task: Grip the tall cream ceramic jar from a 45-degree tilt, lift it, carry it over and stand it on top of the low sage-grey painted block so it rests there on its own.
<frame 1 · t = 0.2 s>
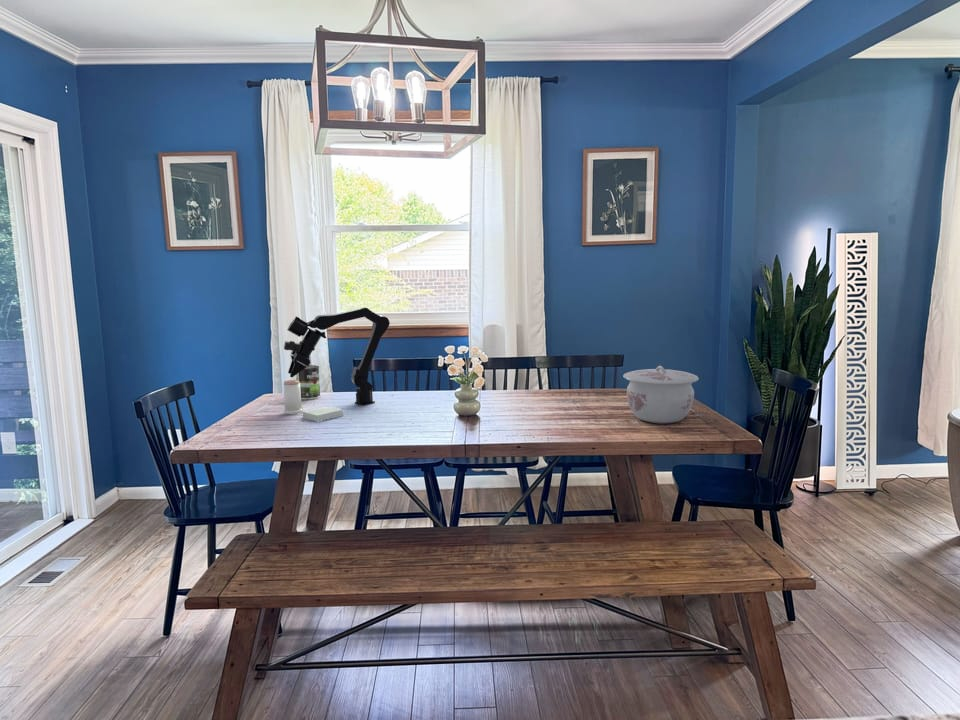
hand: (290, 375, 262), 15 cm above the table, tool tilted 35°, fingers open, 9 cm apart
cream jar: (293, 412, 260), on the table
coffee can: (308, 397, 289), on the table
sage block: (322, 416, 252), on the table
chamber pot: (659, 419, 241), on the table
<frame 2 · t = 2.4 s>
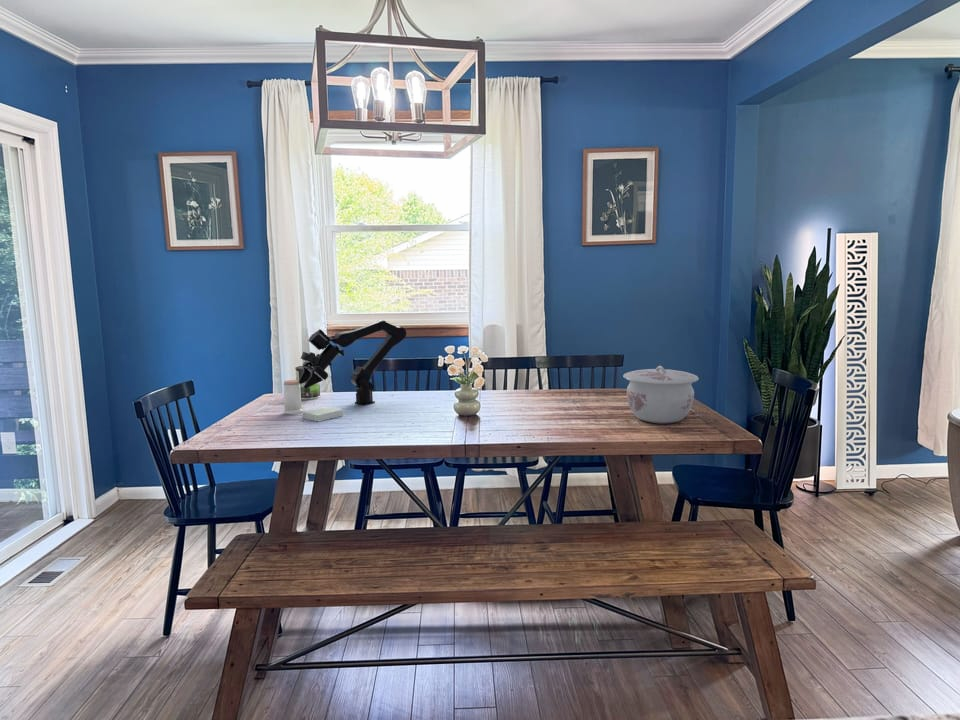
hand: (301, 385, 260), 11 cm above the table, tool tilted 45°, fingers open, 9 cm apart
nothing on the table moved.
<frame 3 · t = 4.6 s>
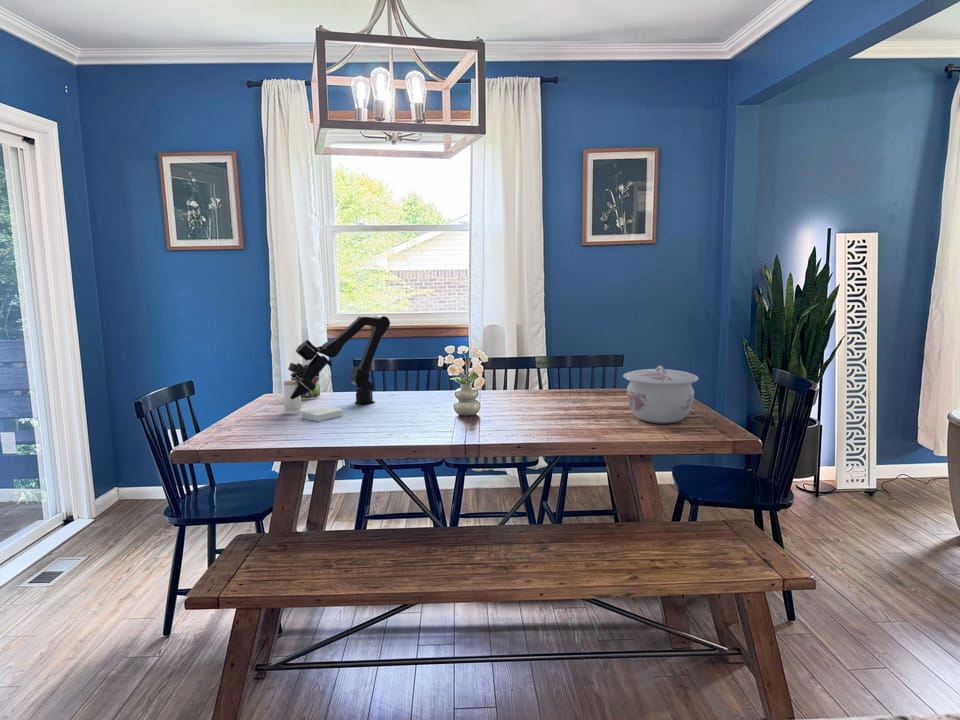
hand: (289, 397, 258), 7 cm above the table, tool tilted 45°, fingers closed on cream jar, 7 cm apart
cream jar: (293, 412, 260), on the table, touching gripper
everything else where it was.
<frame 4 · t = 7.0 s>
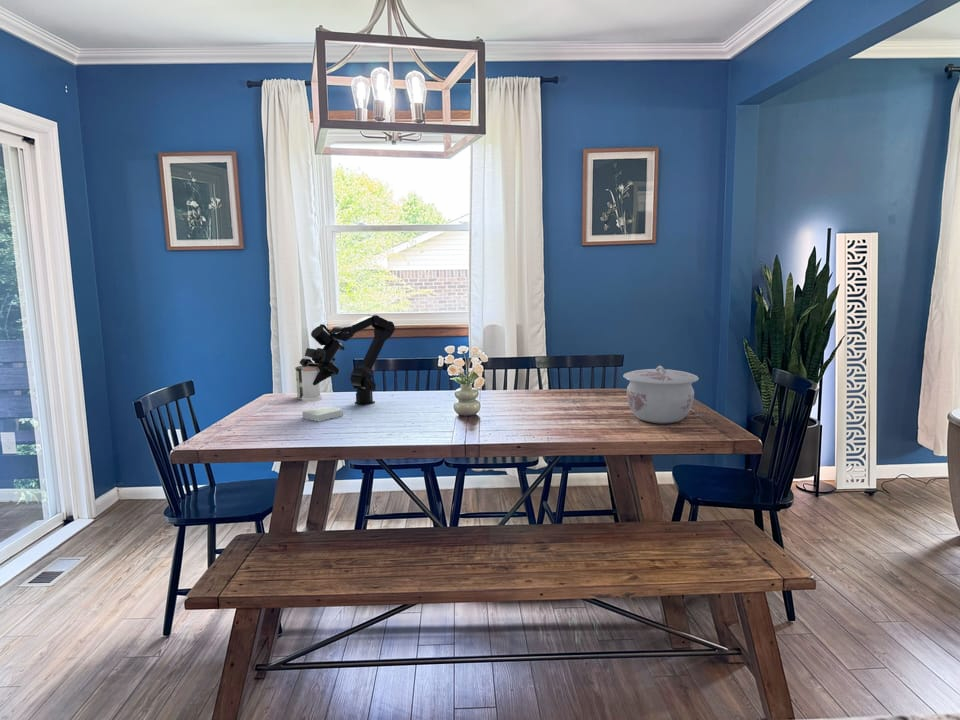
hand: (308, 383, 251), 13 cm above the table, tool tilted 45°, fingers closed on cream jar, 7 cm apart
cream jar: (311, 399, 253), point 7 cm above the table, touching gripper
everything else where it was.
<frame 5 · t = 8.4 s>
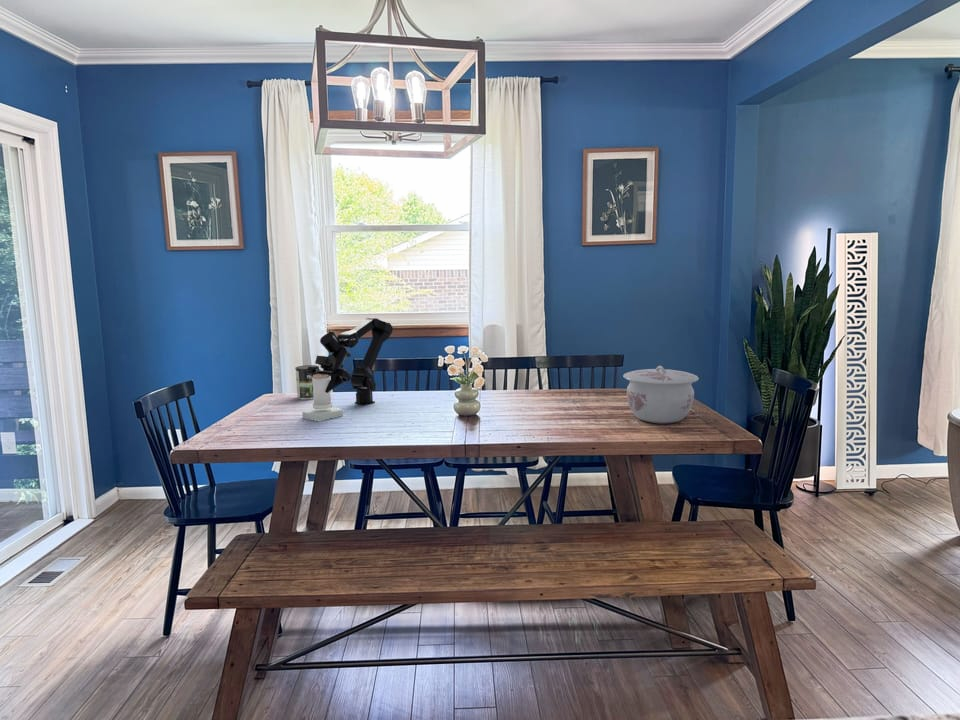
hand: (319, 391, 249), 11 cm above the table, tool tilted 45°, fingers closed on cream jar, 7 cm apart
cream jar: (322, 407, 252), point 4 cm above the table, touching gripper
everything else where it was.
when the fingers open (10 cm above the table, at t = 9.7 s): cream jar drops 1 cm, resting on sage block.
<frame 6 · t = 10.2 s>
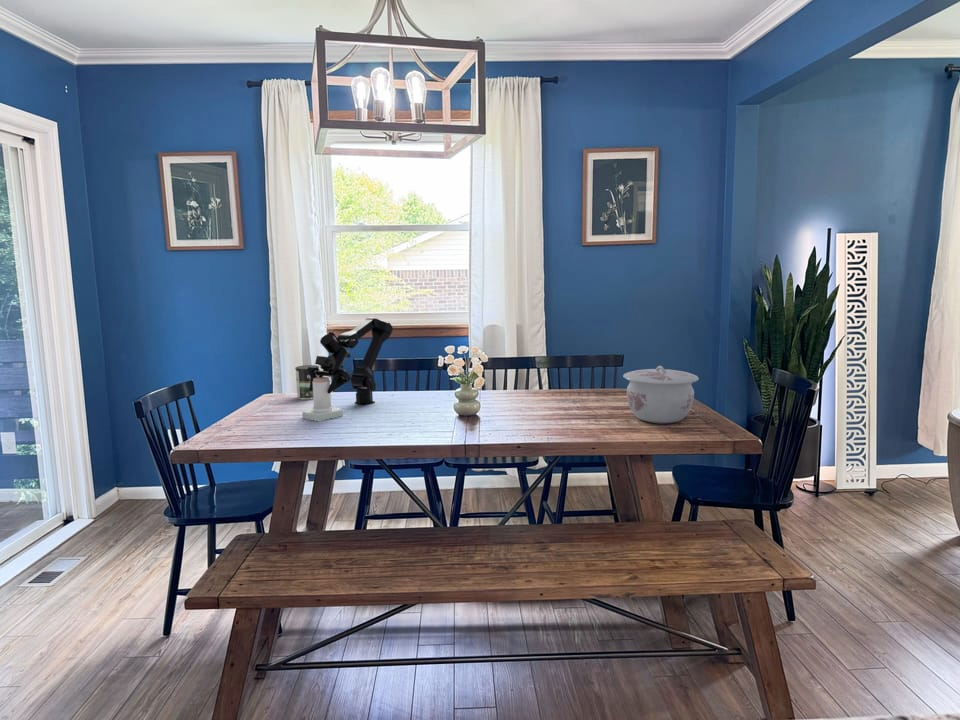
hand: (319, 391, 249), 10 cm above the table, tool tilted 45°, fingers open, 9 cm apart
cream jar: (322, 410, 252), point 2 cm above the table, touching sage block
everything else where it was.
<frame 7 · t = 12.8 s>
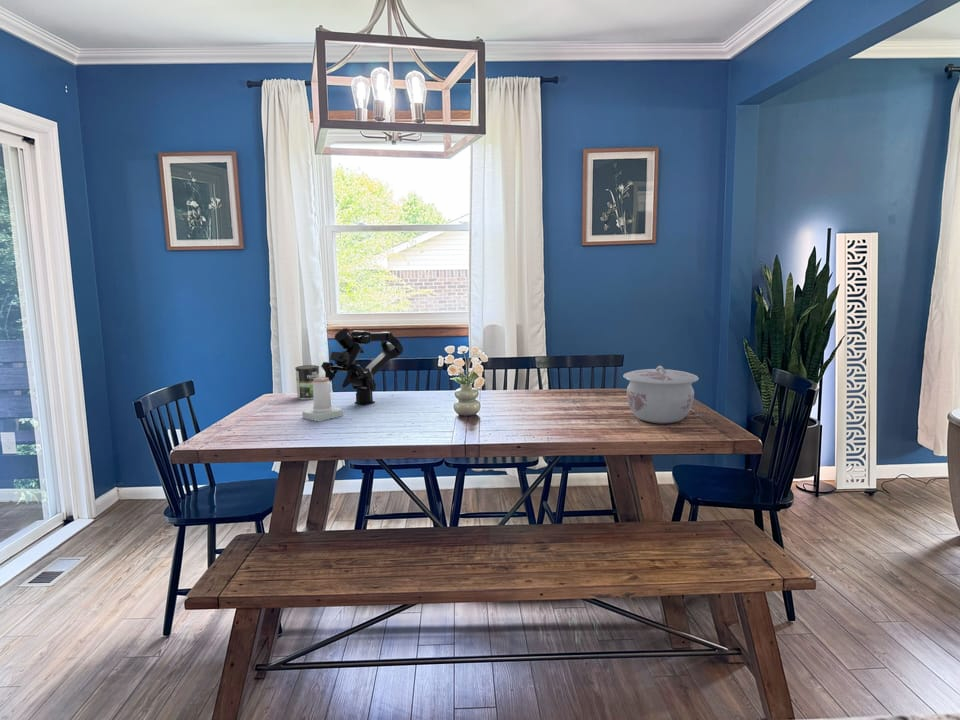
hand: (333, 386, 257), 11 cm above the table, tool tilted 45°, fingers open, 9 cm apart
nothing on the table moved.
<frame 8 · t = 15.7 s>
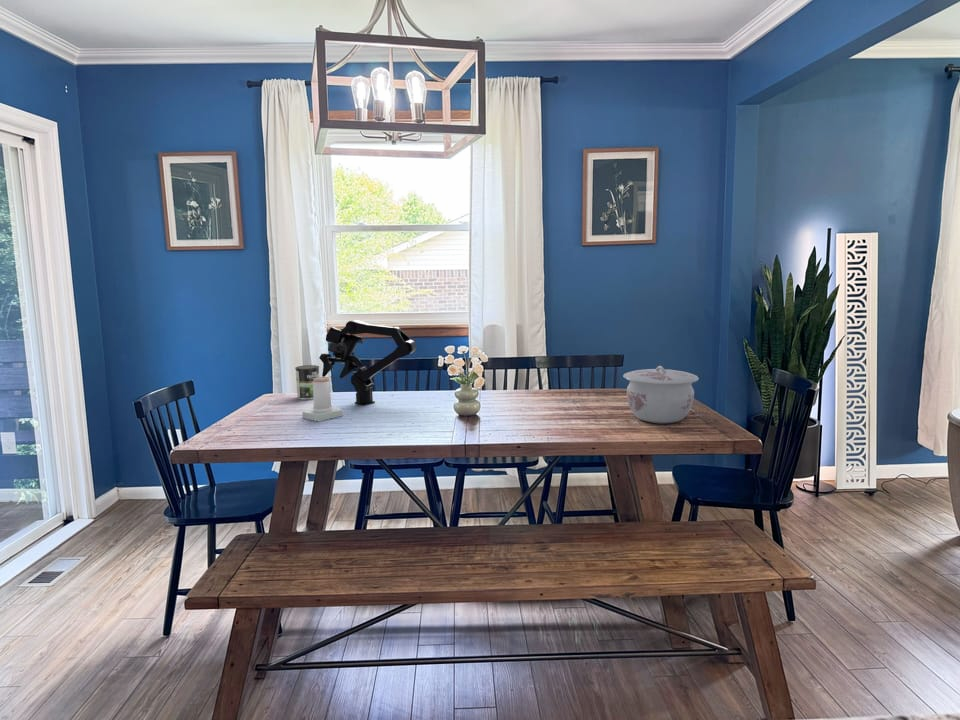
hand: (331, 377, 263), 14 cm above the table, tool tilted 45°, fingers open, 9 cm apart
nothing on the table moved.
at the end: cream jar inside the target area on the sage block (0.1 cm from its centre), point 2.5 cm above the sage block's base; cream jar tilted 0°; the gripper is holding nothing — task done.
